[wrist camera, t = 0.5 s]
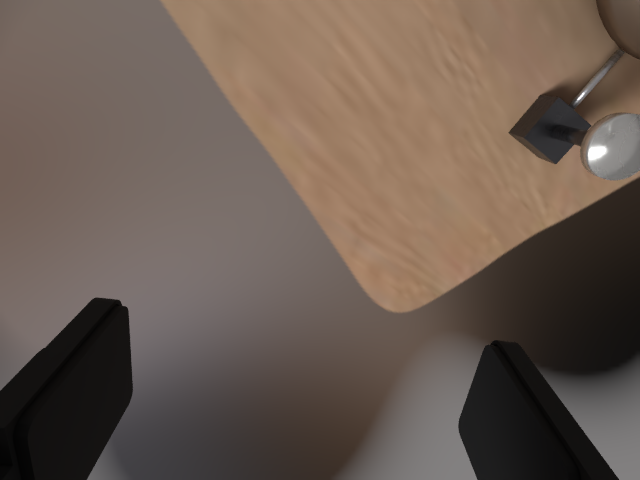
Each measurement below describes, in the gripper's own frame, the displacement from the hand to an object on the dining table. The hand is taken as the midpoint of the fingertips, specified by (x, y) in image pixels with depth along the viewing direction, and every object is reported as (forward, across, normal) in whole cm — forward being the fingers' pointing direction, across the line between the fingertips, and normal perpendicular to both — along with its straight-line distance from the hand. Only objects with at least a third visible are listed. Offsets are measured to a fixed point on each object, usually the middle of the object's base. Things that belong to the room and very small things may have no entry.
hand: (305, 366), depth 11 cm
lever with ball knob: (+30, -22, -7) cm, 38 cm away
